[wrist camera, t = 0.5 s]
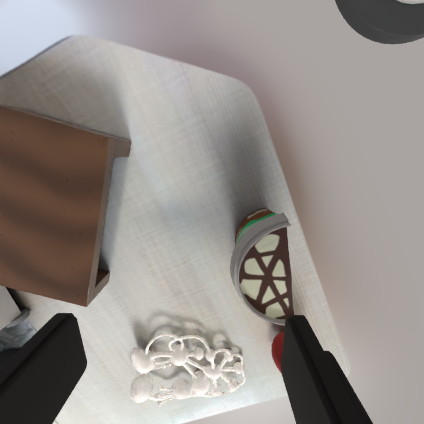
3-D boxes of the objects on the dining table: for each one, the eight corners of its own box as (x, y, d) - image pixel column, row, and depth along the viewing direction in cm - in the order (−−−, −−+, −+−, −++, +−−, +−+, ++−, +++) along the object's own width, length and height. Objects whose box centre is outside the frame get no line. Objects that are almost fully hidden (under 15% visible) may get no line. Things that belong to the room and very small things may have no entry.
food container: (221, 204, 28) (222, 229, 18) (265, 197, 28) (290, 219, 18) (233, 280, 31) (240, 336, 22) (273, 275, 31) (298, 329, 21)
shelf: (23, 109, 25) (-28, 97, 20) (131, 141, 26) (109, 137, 21) (19, 259, 31) (-21, 280, 26) (108, 282, 32) (86, 307, 27)
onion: (294, 349, 35) (316, 405, 27) (262, 342, 34) (275, 396, 27) (306, 323, 33) (334, 373, 25) (273, 315, 33) (290, 364, 25)
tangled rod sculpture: (249, 328, 35) (254, 349, 31) (238, 395, 38) (242, 422, 34) (137, 319, 34) (128, 338, 30) (134, 387, 37) (125, 413, 33)
